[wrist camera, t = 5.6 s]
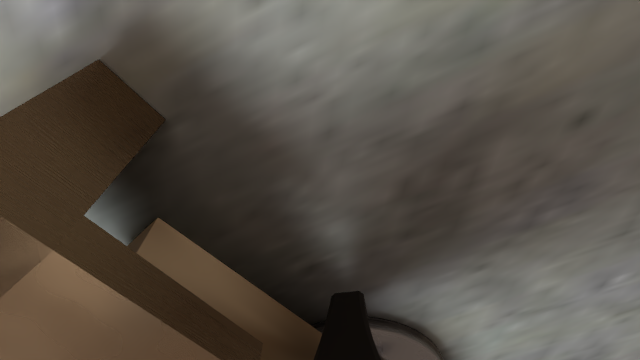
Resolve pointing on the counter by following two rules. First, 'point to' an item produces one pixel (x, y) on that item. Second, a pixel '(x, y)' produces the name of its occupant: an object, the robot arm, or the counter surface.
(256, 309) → the link
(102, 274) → the keeper
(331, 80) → the counter surface
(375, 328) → the pintle base
